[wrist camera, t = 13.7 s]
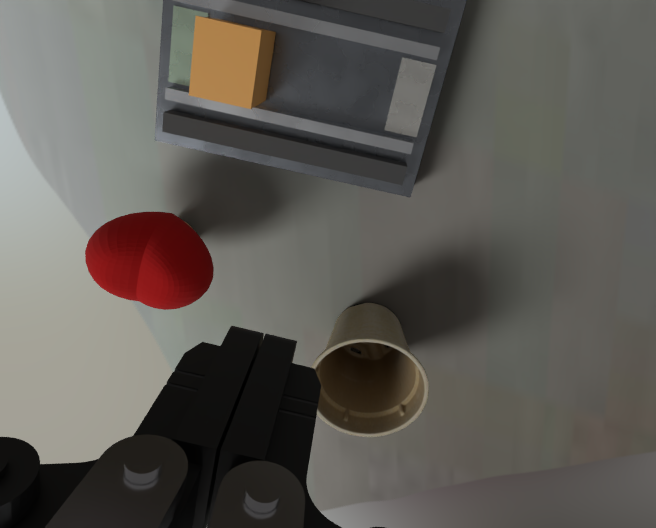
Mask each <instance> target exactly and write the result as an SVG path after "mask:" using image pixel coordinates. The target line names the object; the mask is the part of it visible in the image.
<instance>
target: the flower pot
mask: <svg viewBox="0 0 656 528" xmlns="http://www.w3.org/2000/svg"><path fill="white" fill-rule="evenodd" d="M386 345H388V346H389V347H386ZM351 348H355V349H358V350H359V351H361V354H360V353H357V352H354V351H352V350H351ZM311 368H314V369H315V371H316V373H317V376H318V378H319V381H320V383H321V391H320V397H319V403H318V409H317V415H318V416H319V417H320V418H321V419H322V420H323V421H324V422H325V423H326V424H328V425H330V426H331V427H333V428H334V429H336V430H339V431H341V432H343V433H346V434H351V435H355V436H361V437H378V436H384V435H388V434H391V433H395V432H397V431H399V430H401V429H403V428H405V427H407V426H408V425H410V424H411V423H412V422H413V421H414V420H416V418H417V417H418V416H419V415H420V414H421V412H422V411H423V409H424V407H425V405H426V402H427V399H428V393H429V384H428V378H427V375H426V372H425V370H424V368H423V366H422V365H421V363H420V362H419V361H418V359H417V358H416V357H415V356H414V355H413V354H412V353H411V352H410V350H409V348H408V345H407V342H406V340H405V337H404V334H403V331H402V327H401V324H400V322H399V320H398V319H397V317H396V316H395V315H394V313H392V312H391V311H390V310H389V309H387V308H386V307H384V306H381V305H378V304H374V303H364V304H360V305H356V306H352V307H349V308H347V309H346V310H345V311H344V312H342V314H341V315H340V316H339V317H338V319H337V321H336V323H335V326H334V329H333V332H332V334H331V337H330V339H329V342H328V344H327V347H326V349H325V351H324V352H322V353H321V354H320V355H319V356H318V358H317V359H316V360H315V362H314V363H313V365H312V367H311Z"/></svg>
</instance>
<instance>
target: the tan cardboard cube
mask: <svg viewBox="0 0 656 528" xmlns="http://www.w3.org/2000/svg"><path fill="white" fill-rule="evenodd" d="M275 35H276V32H274V31H270V30H265V29H261V28H257V27H252V26H248V25H243V24H239V23H234V22H230V21H226V20H221V19H216V18H209V17H202V16H196V17H195V28H194V40H193V52H192V63H191V75H190V87H189V95H190V96H194V97H199V98H203V99H207V100H212V101H216V102H221V103H225V104H230V105H234V106H239V107H243V108H248V109H252V108H254V107H256V106H257V105H259V104H261V103H263V102H264V101H266V96H267V89H268V83H269V76H270V69H271V62H272V55H273V49H274V42H275Z"/></svg>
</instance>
